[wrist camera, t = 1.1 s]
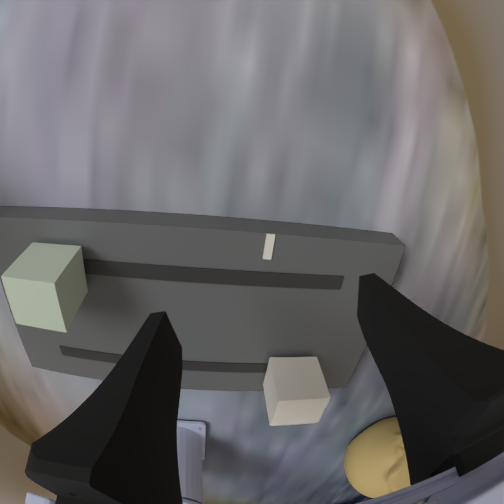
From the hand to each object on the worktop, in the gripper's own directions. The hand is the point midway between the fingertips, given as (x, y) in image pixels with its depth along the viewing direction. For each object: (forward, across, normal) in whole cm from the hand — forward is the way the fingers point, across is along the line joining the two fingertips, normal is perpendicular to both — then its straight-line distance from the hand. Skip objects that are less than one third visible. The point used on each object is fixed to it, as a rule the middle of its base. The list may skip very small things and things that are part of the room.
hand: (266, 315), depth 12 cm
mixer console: (+9, +6, +6) cm, 12 cm away
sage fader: (+7, +12, 0) cm, 14 cm away
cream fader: (+6, -1, +12) cm, 14 cm away
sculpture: (+8, -12, +34) cm, 36 cm away
